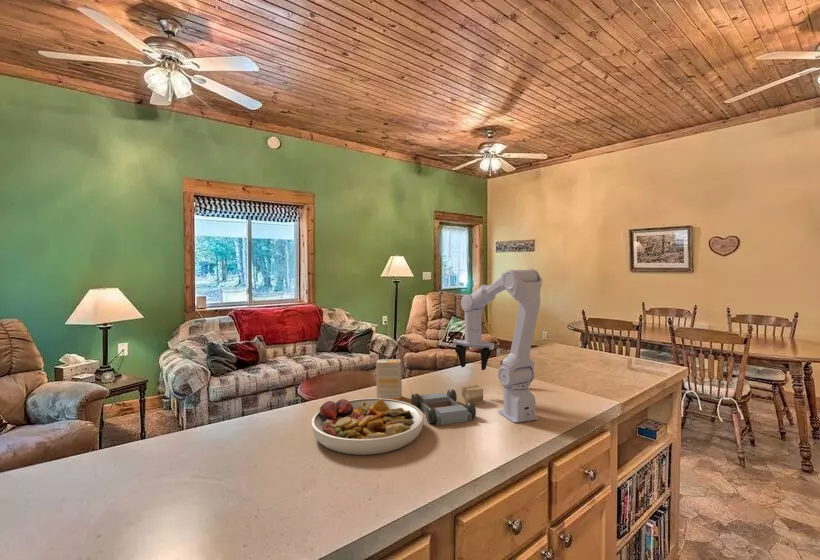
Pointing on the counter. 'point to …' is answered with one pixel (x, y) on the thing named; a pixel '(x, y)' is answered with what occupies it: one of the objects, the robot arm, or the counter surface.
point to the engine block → (472, 394)
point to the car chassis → (443, 408)
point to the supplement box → (389, 379)
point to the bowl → (366, 425)
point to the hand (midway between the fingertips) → (473, 368)
